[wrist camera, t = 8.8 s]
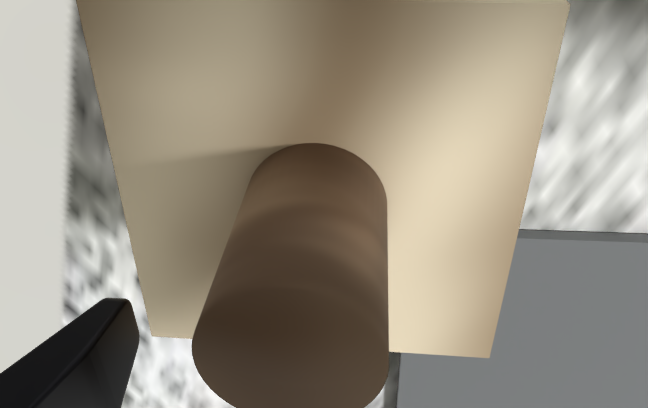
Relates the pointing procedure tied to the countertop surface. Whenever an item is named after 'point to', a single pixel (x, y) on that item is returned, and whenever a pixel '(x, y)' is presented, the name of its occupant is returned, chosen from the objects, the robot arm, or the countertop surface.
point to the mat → (553, 332)
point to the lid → (322, 177)
